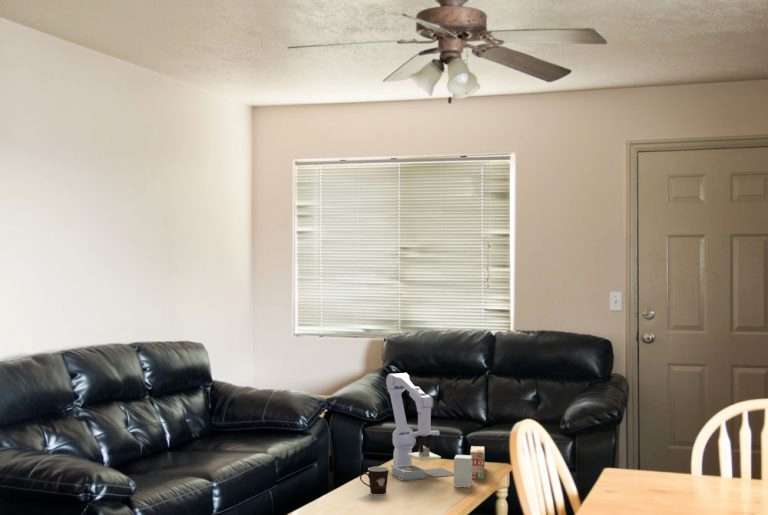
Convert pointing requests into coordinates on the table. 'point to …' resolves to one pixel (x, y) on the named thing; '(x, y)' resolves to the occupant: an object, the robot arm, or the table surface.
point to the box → (408, 472)
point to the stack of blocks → (478, 461)
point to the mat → (438, 472)
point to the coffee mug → (377, 479)
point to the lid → (424, 455)
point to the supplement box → (462, 471)
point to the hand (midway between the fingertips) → (424, 452)
